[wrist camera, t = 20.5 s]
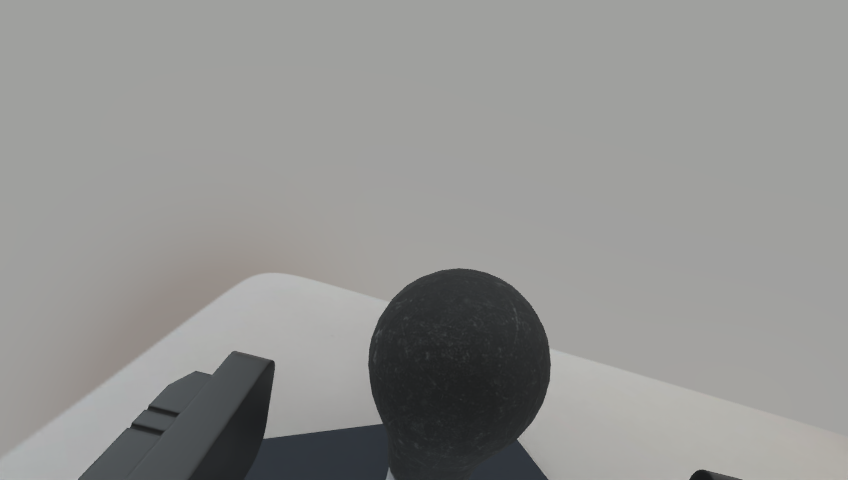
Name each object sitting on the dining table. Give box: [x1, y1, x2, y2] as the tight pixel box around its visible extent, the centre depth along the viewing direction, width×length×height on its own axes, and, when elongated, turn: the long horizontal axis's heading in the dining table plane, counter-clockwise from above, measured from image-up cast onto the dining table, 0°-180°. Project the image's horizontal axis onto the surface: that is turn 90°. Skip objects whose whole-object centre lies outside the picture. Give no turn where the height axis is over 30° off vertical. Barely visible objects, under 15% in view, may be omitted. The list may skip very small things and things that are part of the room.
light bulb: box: [368, 268, 551, 480], centre depth 16 cm, size 6×6×10 cm
